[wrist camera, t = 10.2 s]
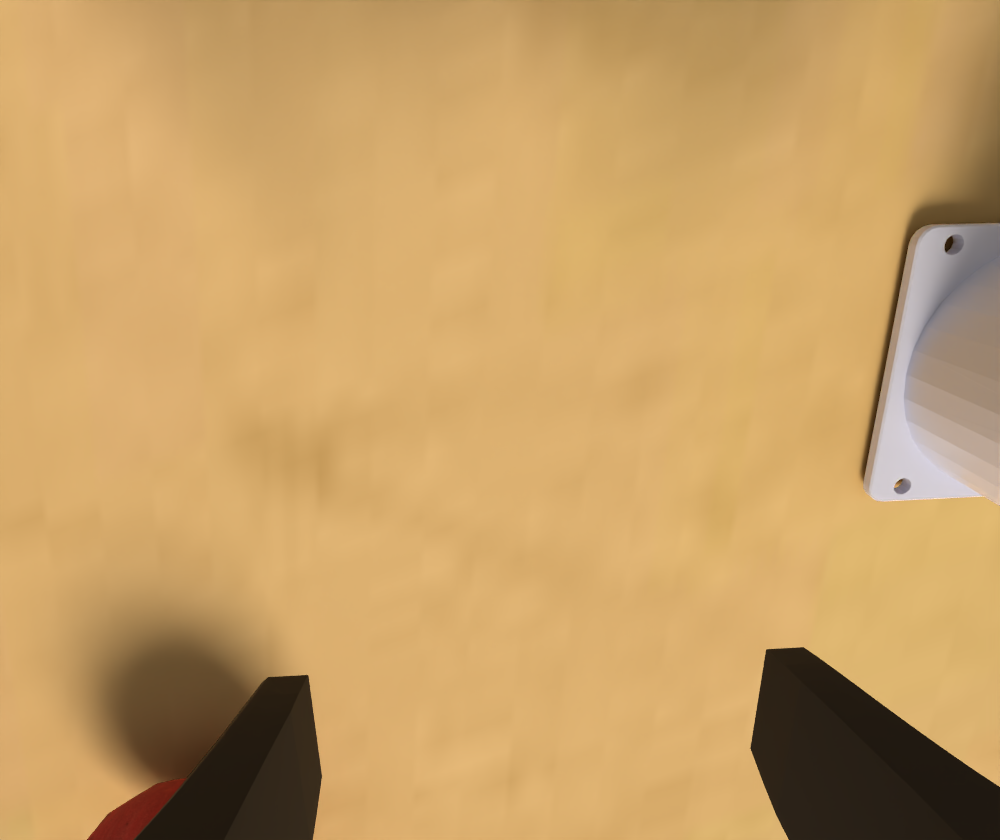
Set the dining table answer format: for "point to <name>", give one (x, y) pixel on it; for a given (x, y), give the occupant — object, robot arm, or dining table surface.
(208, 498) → the dining table surface
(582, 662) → the dining table surface
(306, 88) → the dining table surface
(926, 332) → the robot arm
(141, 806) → the onion
